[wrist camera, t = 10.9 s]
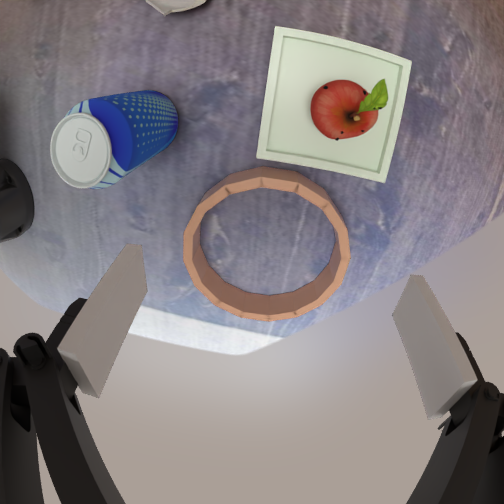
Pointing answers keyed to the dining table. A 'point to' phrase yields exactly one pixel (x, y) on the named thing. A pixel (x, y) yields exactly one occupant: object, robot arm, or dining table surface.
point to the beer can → (111, 137)
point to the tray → (302, 90)
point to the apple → (347, 108)
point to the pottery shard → (174, 5)
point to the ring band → (257, 303)
